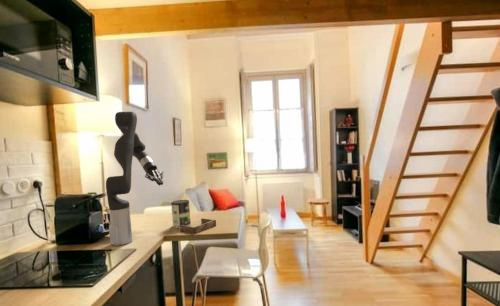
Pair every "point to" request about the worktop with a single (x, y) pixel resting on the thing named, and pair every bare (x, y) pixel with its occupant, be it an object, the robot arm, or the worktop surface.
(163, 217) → the worktop surface
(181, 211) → the coffee can
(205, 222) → the walnut bay
